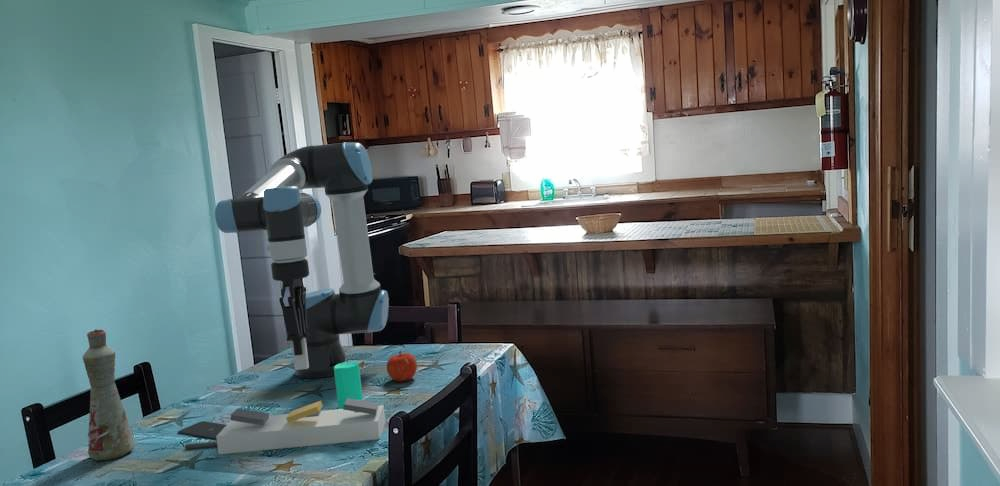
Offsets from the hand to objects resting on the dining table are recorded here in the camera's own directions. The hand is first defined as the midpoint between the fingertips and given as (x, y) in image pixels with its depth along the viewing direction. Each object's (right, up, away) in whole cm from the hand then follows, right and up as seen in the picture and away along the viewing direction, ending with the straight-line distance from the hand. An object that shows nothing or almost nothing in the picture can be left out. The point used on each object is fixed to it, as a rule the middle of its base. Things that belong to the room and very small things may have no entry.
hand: (301, 368), depth 153 cm
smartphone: (-24, -17, +12) cm, 32 cm away
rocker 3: (+12, -9, +2) cm, 15 cm away
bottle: (-42, -19, +3) cm, 46 cm away
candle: (+6, -13, +21) cm, 26 cm away
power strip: (-5, -16, +3) cm, 17 cm away
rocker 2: (0, -10, +1) cm, 10 cm away
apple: (+16, -10, +39) cm, 44 cm away
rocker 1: (-12, -11, +1) cm, 16 cm away
